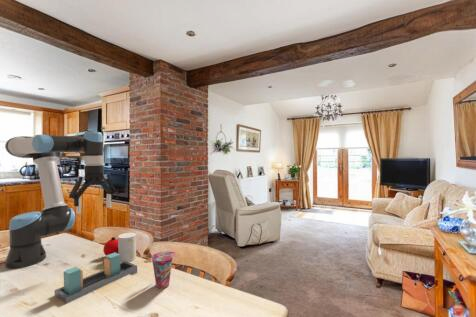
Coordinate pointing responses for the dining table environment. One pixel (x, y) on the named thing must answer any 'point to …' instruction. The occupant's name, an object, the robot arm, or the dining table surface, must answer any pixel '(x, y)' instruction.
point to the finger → (112, 264)
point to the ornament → (111, 246)
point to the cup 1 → (127, 247)
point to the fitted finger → (73, 280)
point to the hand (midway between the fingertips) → (94, 210)
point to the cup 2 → (162, 268)
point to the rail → (96, 282)
